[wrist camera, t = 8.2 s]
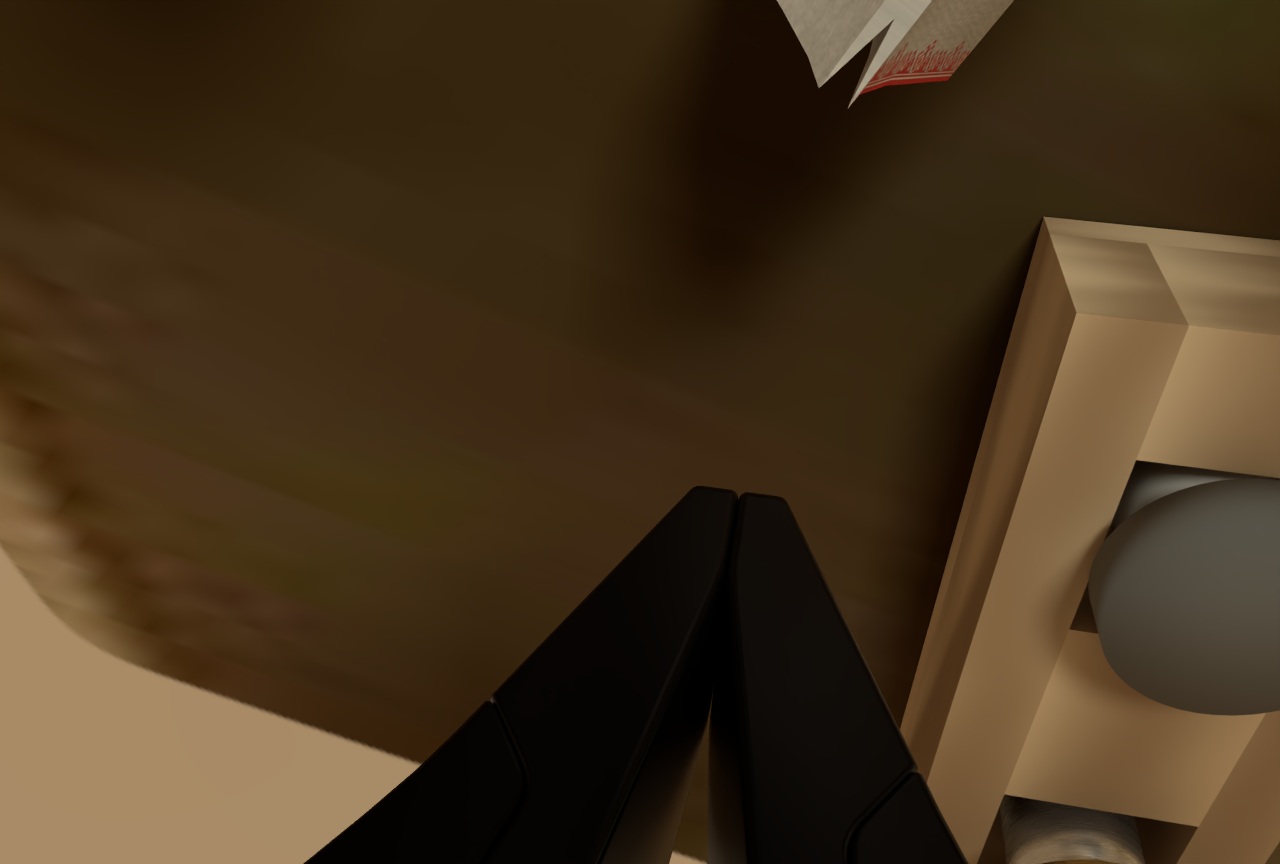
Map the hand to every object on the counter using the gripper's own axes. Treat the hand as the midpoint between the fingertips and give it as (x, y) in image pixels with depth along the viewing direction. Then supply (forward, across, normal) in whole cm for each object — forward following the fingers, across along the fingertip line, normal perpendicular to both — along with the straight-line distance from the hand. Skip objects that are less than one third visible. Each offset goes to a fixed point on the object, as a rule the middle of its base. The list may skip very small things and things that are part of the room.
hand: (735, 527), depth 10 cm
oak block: (+13, -9, +12) cm, 20 cm away
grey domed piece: (+12, -9, +7) cm, 16 cm away
